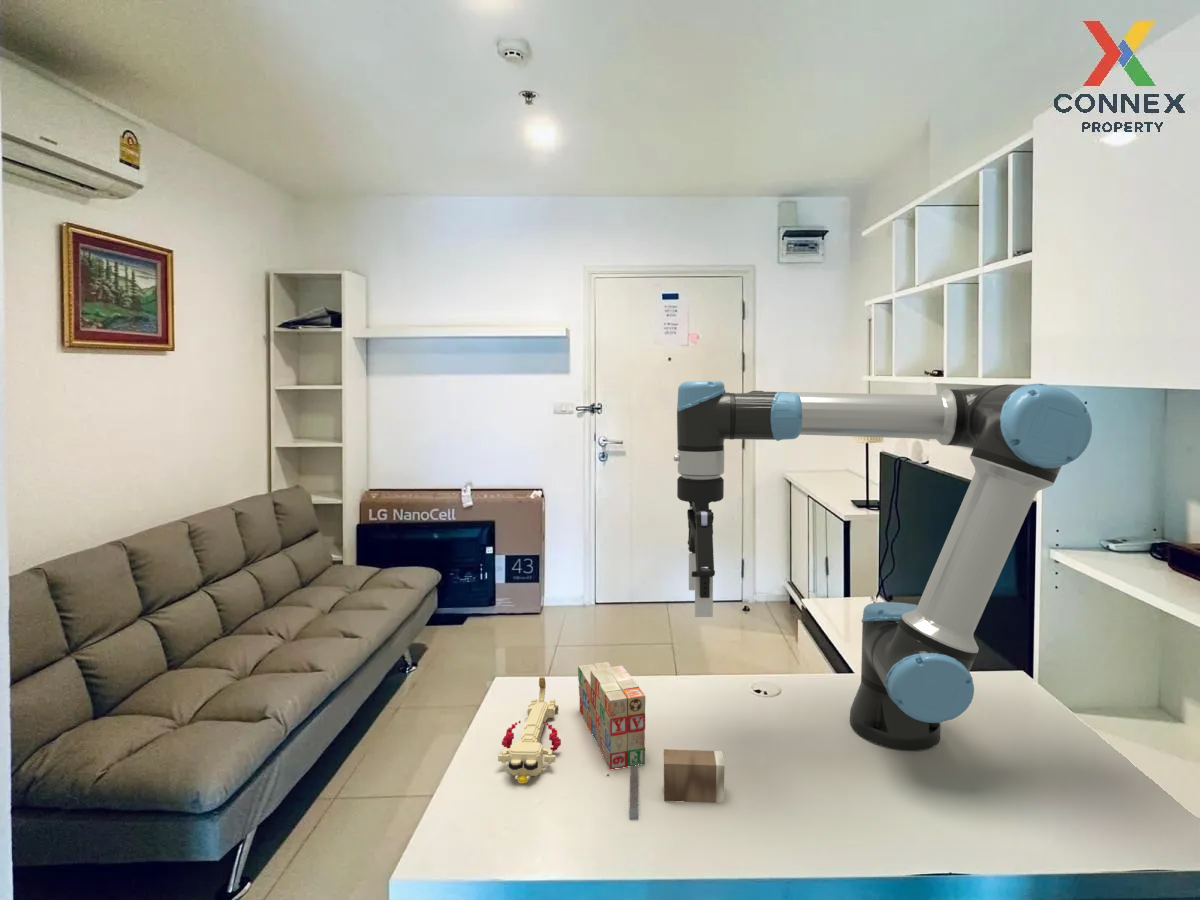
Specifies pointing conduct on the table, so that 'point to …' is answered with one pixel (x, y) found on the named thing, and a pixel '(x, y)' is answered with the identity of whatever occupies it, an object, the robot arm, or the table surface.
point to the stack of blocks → (613, 713)
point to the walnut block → (693, 776)
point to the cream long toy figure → (531, 740)
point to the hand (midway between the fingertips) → (699, 602)
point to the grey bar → (634, 792)
